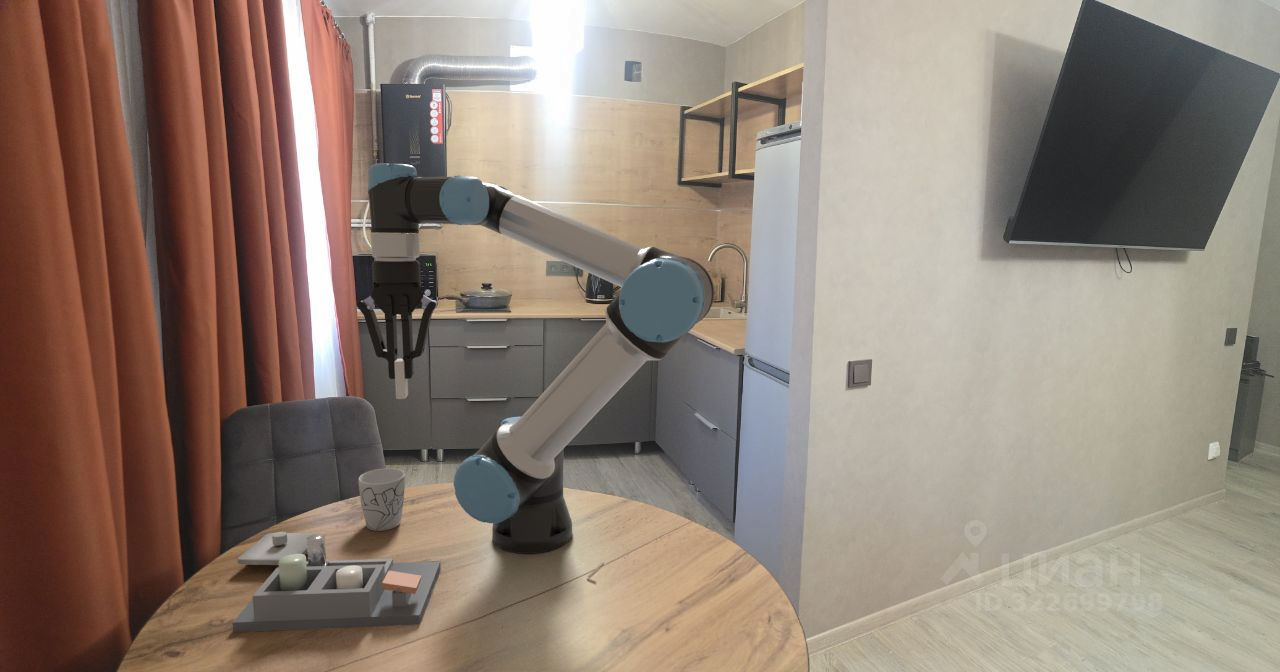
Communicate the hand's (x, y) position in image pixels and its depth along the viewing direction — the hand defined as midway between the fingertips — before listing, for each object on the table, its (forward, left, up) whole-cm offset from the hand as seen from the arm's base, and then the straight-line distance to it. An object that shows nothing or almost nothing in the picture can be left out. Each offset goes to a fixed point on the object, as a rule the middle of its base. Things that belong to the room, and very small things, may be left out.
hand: (402, 396), depth 113 cm
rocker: (-3, +18, -25) cm, 31 cm away
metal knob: (+12, +9, -27) cm, 31 cm away
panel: (+6, +14, -29) cm, 33 cm away
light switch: (+21, +1, -29) cm, 36 cm away
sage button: (+12, +18, -24) cm, 33 cm away
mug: (+7, -14, -29) cm, 33 cm away
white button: (+4, +18, -26) cm, 32 cm away
